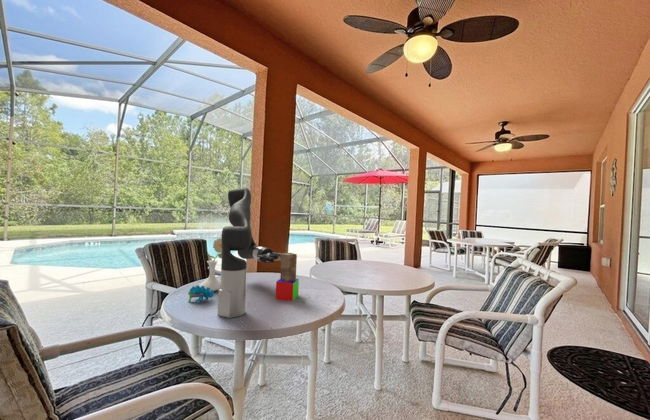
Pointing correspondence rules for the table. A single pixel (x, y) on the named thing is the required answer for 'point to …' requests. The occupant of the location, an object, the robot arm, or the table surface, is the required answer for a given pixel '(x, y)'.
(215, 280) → the flower in vase
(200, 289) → the blue toy dinosaur
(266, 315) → the table surface
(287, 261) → the pillar
